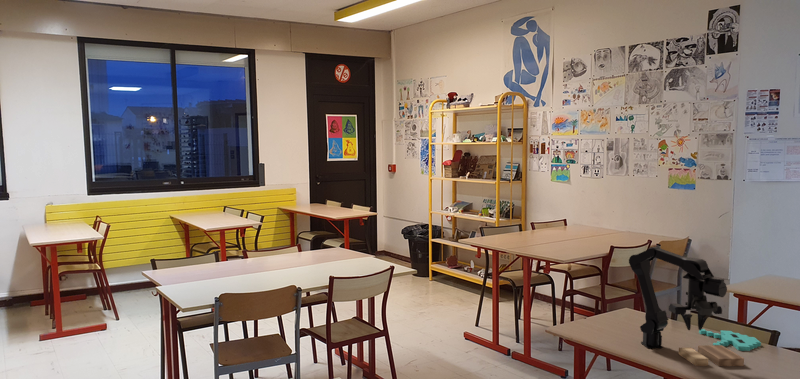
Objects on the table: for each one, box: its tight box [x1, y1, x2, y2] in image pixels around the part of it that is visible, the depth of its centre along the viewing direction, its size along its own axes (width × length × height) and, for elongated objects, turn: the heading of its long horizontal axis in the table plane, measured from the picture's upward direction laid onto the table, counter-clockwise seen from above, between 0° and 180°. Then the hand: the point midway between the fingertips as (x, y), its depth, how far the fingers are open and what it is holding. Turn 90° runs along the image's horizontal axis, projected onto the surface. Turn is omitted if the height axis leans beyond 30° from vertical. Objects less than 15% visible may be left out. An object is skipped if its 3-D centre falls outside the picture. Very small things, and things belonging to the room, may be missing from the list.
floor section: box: [697, 344, 745, 367], centre depth 219 cm, size 10×14×3 cm
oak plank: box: [678, 347, 710, 367], centre depth 218 cm, size 12×5×3 cm, turn 3°
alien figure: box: [698, 328, 762, 352], centre depth 238 cm, size 20×2×20 cm
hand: (694, 330), depth 217 cm, fingers open, 4 cm apart
